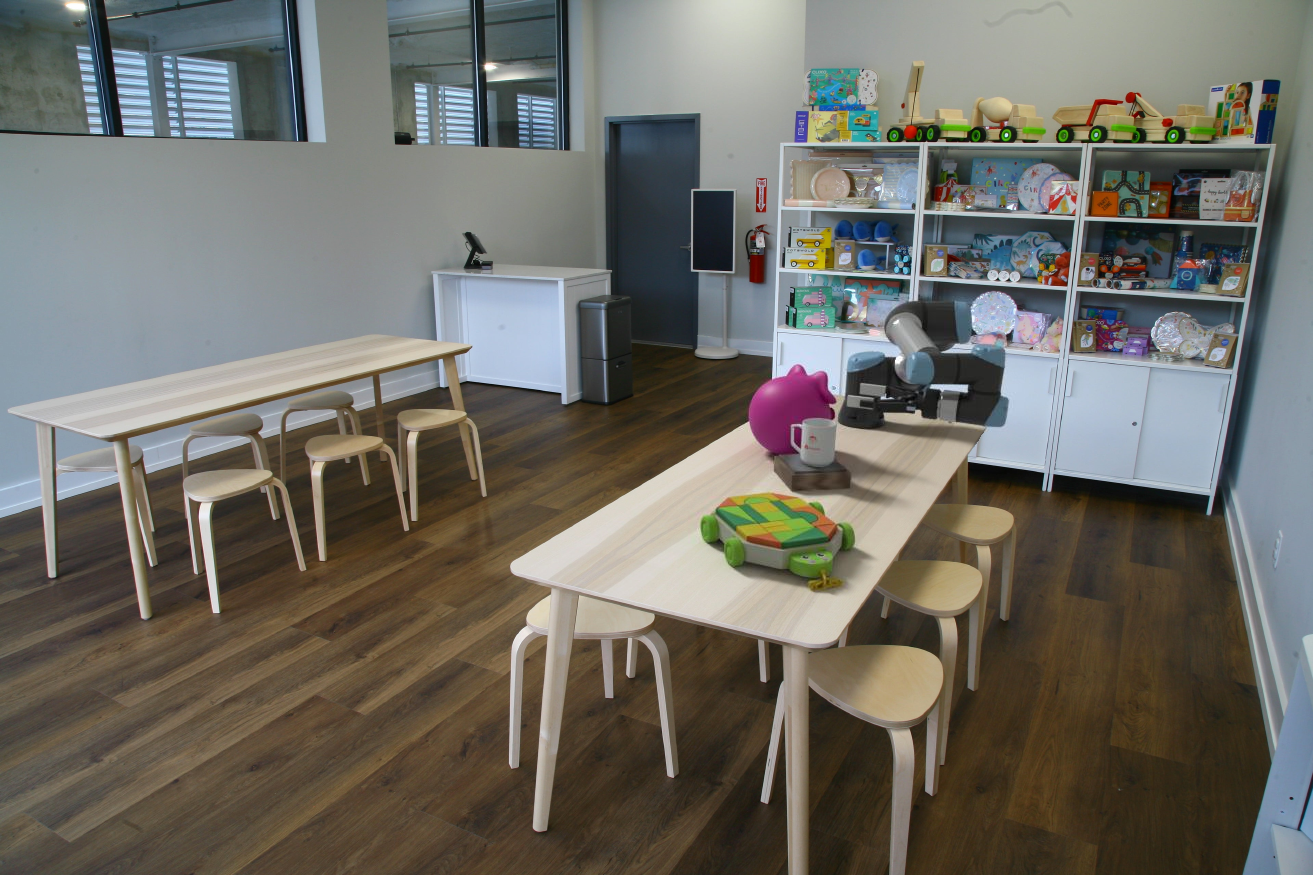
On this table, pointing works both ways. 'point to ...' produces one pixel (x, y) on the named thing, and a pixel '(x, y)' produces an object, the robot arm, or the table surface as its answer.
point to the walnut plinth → (810, 474)
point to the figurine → (789, 408)
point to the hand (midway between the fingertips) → (853, 394)
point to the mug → (816, 441)
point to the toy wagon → (779, 535)
